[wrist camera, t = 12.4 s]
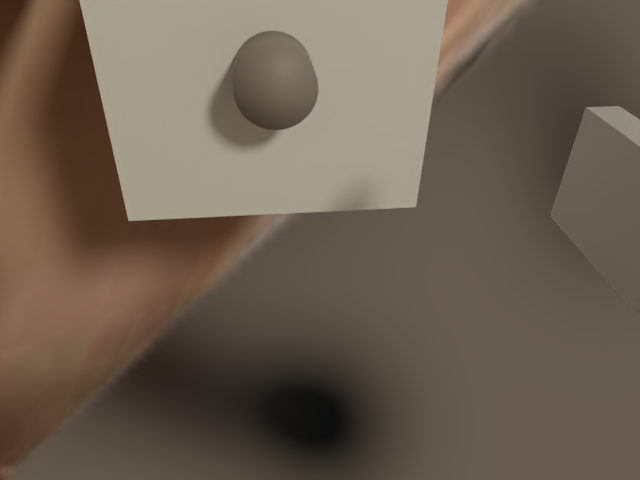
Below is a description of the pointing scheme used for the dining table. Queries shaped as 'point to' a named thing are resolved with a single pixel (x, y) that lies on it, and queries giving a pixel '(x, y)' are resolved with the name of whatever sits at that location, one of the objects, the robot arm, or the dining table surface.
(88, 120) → the dining table surface
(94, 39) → the cover
